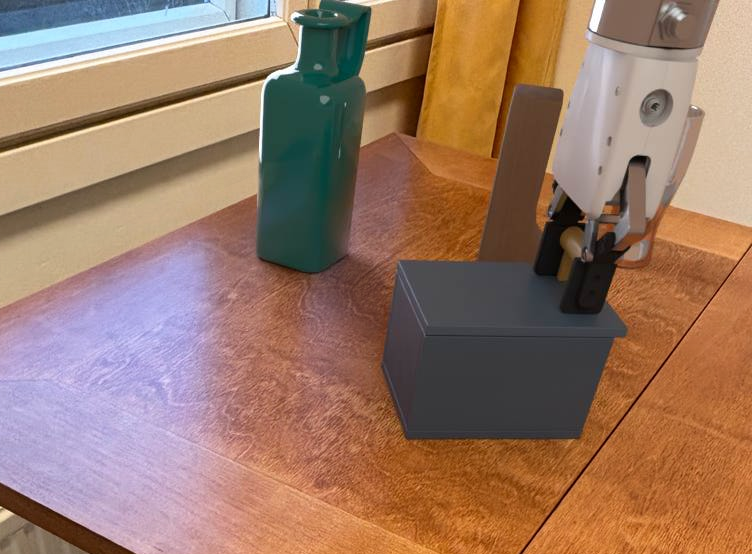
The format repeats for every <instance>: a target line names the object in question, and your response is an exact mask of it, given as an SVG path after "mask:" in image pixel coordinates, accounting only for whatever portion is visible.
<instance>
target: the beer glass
mask: <svg viewBox="0 0 752 554" xmlns="http://www.w3.org/2000/svg"><path fill="white" fill-rule="evenodd" d="M705 116H706V112H705V110H704V109H702V108H701V107H698V106H696V105H694V104H691V103H690V106H689V110H688V114H687V117H686V121H685V125H684V128H683V132H682V135H681V139H680V142H679V146H678V149H677V152H676V156H675V159H674V162H673V165H672V168H671V172H670V175H669V178H668V181H667V184H666V187H665V190H664V193H663V196H662V199H661V202H660V205H659V207H658V210H657V212H656V214H655V216H654V217H653V218H652V219H651V220H650V221H647V222H646V229H645V233H644V235H643V236H642V237H641V238H640V239H638V240H637V241H636V242H635V243H634V244H632V246H631V247H630V249H629V250H628V251H627V252H626V253H625V254H624V258H623V261H622V262H621V263H620V264H618V265H617V268H618V267H619V268H624V269H641V268H644V267H646V266H648V265H649V264H650V263H651V260H652V258H653V257H652V256H653V250H654V245H655V240H656V236H657V232H658V229H659V227H660V225H661V222H662V221H663V218H664V217H665V214H666V213H667V210H668V209H669V207H670V205H671V203H672V202H673V199H674V198H675V196H676V194H677V192H678V190H679V189H680V186H681V184H682V182H683V181H684V178H685V176H686V174H687V171H688V169H689V166H690V164H691V162H692V159H693V156H694V153H695V150H696V147H697V144H698V140H699V136H700V133H701V130H702V125H703V122H704V118H705ZM619 210H620V206H611V211H610V214H619ZM605 227H606V228H605V230H604V232H603V234H602V236H603V235H604V234H605V233H606V232H612V231H613V230H614V227H615V225H614V224H606V226H605Z"/></svg>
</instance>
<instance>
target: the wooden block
mask: <svg viewBox="0 0 752 554" xmlns="http://www.w3.org/2000/svg"><path fill="white" fill-rule="evenodd" d="M564 93H565V92H564V90H563V89H562V88H559V87H558V88H557V87H551V86H542V85H534V84H527V83H517V84H515V86H514V87H513V92H512V95H511V98H510V103H509V108H508V113H507V116H506V117H507V118H506V122H505V127H504V132H503V137H502V141H501V146H500V150H499V154H498V160H497V165H496V169H495V173H494V177H493V182H492V187H491V192H490V196H489V200H488V205H487V210H486V215H485V220H484V224H483V229H482V233H481V238H480V243H479V248H478V251H477V255H476V261H479V262H524V263H534V262H535V259H536V255H537V252H538V248H539V245H540V241H541V237H542V234H543V230H541V228H540V226H539V225H538V223H537V209H538V204H539V199H540V195H541V192H542V187H543V184H544V180H545V175H546V172H547V167H548V165H549V164H548V163H549V160H550V156H551V151H552V148H553V144H554V141H555V136H556V133H557V129H558V124H559V121H560V117H561V113H562V109H563V105H564V97H565V94H564Z"/></svg>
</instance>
